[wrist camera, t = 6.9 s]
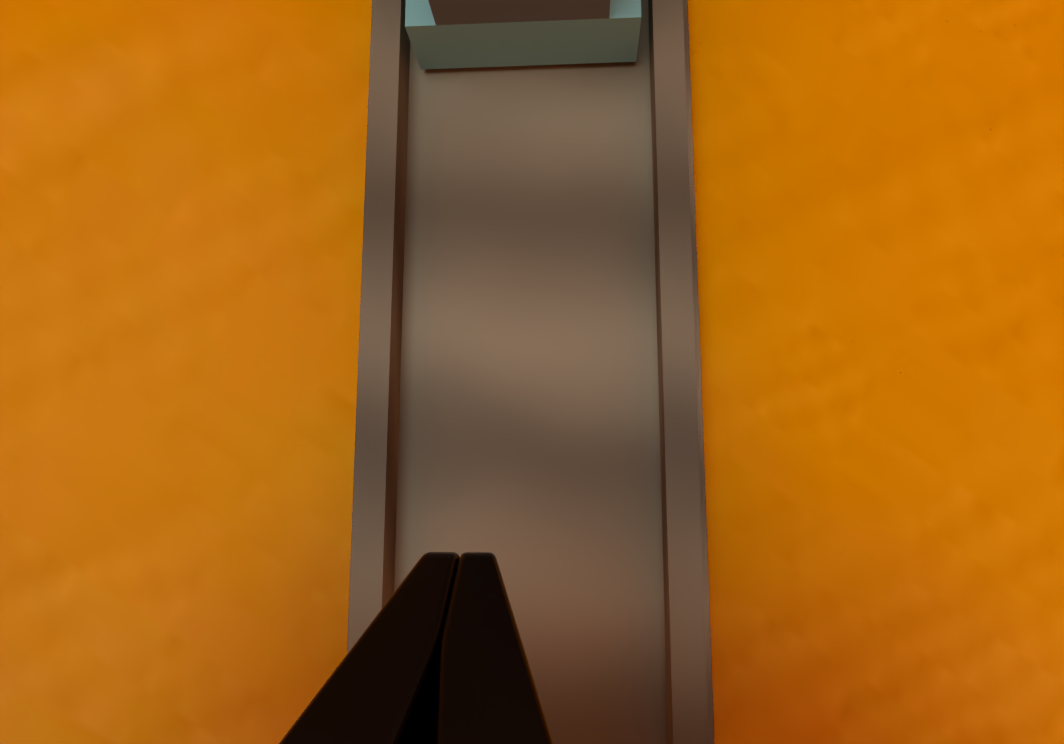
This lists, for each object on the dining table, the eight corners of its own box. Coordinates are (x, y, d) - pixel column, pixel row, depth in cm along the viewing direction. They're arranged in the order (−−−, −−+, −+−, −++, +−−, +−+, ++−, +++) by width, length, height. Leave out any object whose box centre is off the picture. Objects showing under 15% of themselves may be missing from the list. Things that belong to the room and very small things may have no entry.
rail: (705, 740, 20) (761, 848, 14) (362, 733, 21) (263, 833, 14) (674, -142, 25) (706, -369, 18) (392, -127, 25) (327, -342, 19)
